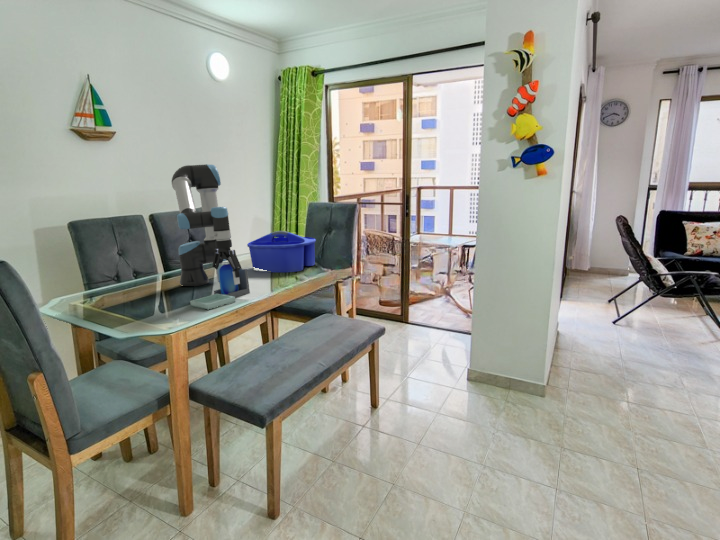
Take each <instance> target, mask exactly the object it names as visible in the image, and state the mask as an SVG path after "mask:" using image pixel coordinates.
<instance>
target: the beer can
mask: <svg viewBox="0 0 720 540" xmlns="http://www.w3.org/2000/svg"><path fill="white" fill-rule="evenodd" d="M218 275H219V282H218V283H219V289H220V290H221V294H223V295H228V296H229V294H228V293H232V292H235V291H239V289H238V284H237V285H234V278H233V269H232V267H231V265H230V264H229V262H228V261H223V262H222V263H219V267H218Z"/></svg>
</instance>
